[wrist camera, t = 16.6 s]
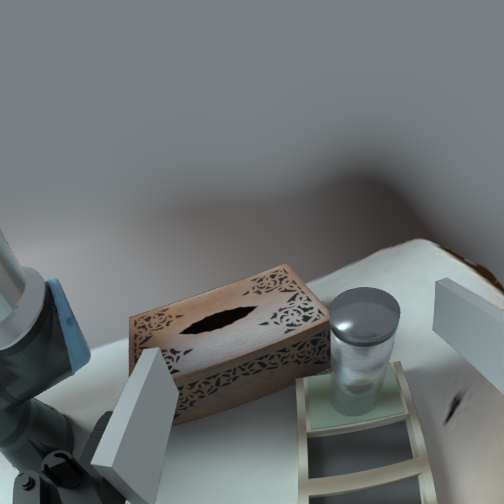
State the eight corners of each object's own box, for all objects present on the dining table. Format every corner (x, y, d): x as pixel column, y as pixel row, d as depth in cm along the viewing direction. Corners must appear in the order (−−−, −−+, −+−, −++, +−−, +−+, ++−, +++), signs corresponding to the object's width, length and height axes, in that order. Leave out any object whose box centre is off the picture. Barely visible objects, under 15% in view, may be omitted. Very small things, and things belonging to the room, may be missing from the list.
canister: (318, 393, 31) (314, 309, 24) (356, 366, 33) (364, 278, 26) (351, 427, 26) (365, 349, 19) (390, 394, 28) (414, 308, 21)
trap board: (433, 572, 8) (445, 573, 6) (296, 600, 10) (294, 606, 8) (396, 373, 33) (400, 359, 32) (297, 390, 36) (295, 376, 34)
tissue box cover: (164, 429, 33) (129, 390, 28) (154, 359, 45) (129, 317, 40) (334, 366, 38) (335, 316, 33) (292, 310, 50) (285, 263, 45)
